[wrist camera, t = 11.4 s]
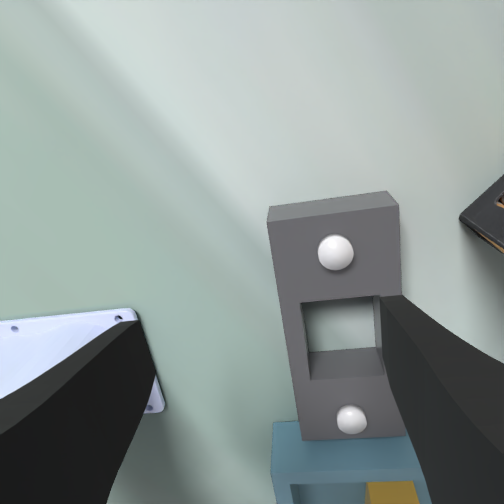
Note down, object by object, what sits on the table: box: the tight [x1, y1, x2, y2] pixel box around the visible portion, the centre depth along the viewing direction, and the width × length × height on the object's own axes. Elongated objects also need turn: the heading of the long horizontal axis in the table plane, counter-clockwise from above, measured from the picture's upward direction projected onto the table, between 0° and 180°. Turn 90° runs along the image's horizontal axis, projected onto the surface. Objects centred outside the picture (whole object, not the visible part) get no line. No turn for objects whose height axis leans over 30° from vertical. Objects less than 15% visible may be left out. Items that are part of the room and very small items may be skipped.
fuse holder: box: [267, 191, 406, 441], centre depth 22 cm, size 6×14×3 cm, turn 10°
